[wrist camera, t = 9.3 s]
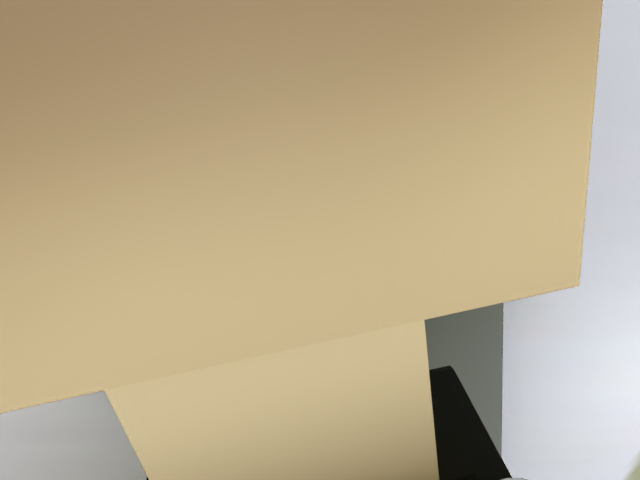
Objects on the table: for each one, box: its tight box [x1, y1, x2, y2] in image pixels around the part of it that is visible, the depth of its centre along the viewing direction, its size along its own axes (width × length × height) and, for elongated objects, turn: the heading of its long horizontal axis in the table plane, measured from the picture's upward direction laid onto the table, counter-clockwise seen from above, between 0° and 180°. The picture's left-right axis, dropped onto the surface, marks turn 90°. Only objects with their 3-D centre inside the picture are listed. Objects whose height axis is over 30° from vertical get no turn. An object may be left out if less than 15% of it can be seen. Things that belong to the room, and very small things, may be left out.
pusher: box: [0, 0, 603, 480], centre depth 8 cm, size 15×6×6 cm, turn 10°
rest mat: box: [424, 303, 503, 456], centre depth 18 cm, size 20×13×1 cm, turn 10°
